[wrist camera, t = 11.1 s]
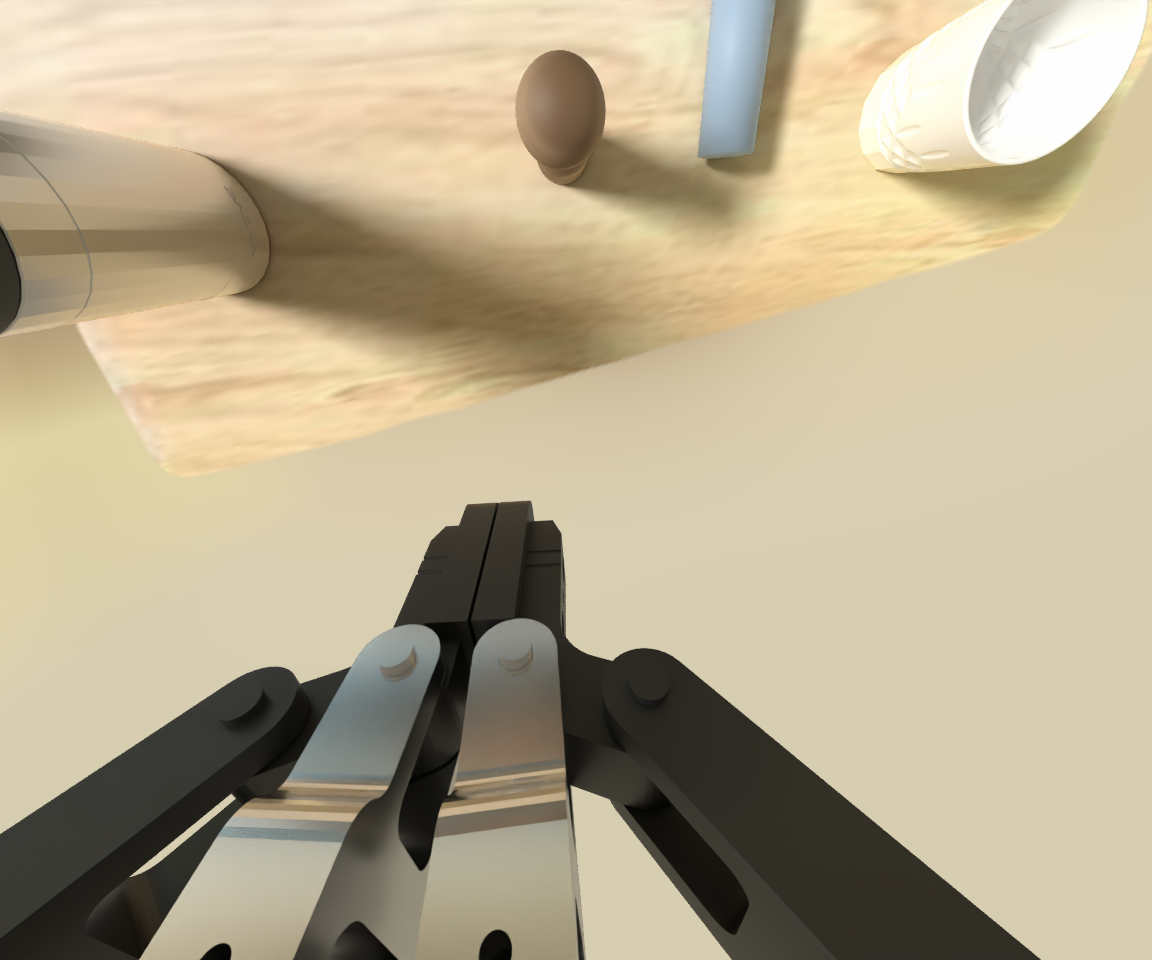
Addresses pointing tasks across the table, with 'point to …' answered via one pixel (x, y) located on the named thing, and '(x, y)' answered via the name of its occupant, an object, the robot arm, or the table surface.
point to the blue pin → (734, 76)
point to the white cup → (1000, 84)
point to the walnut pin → (560, 114)
